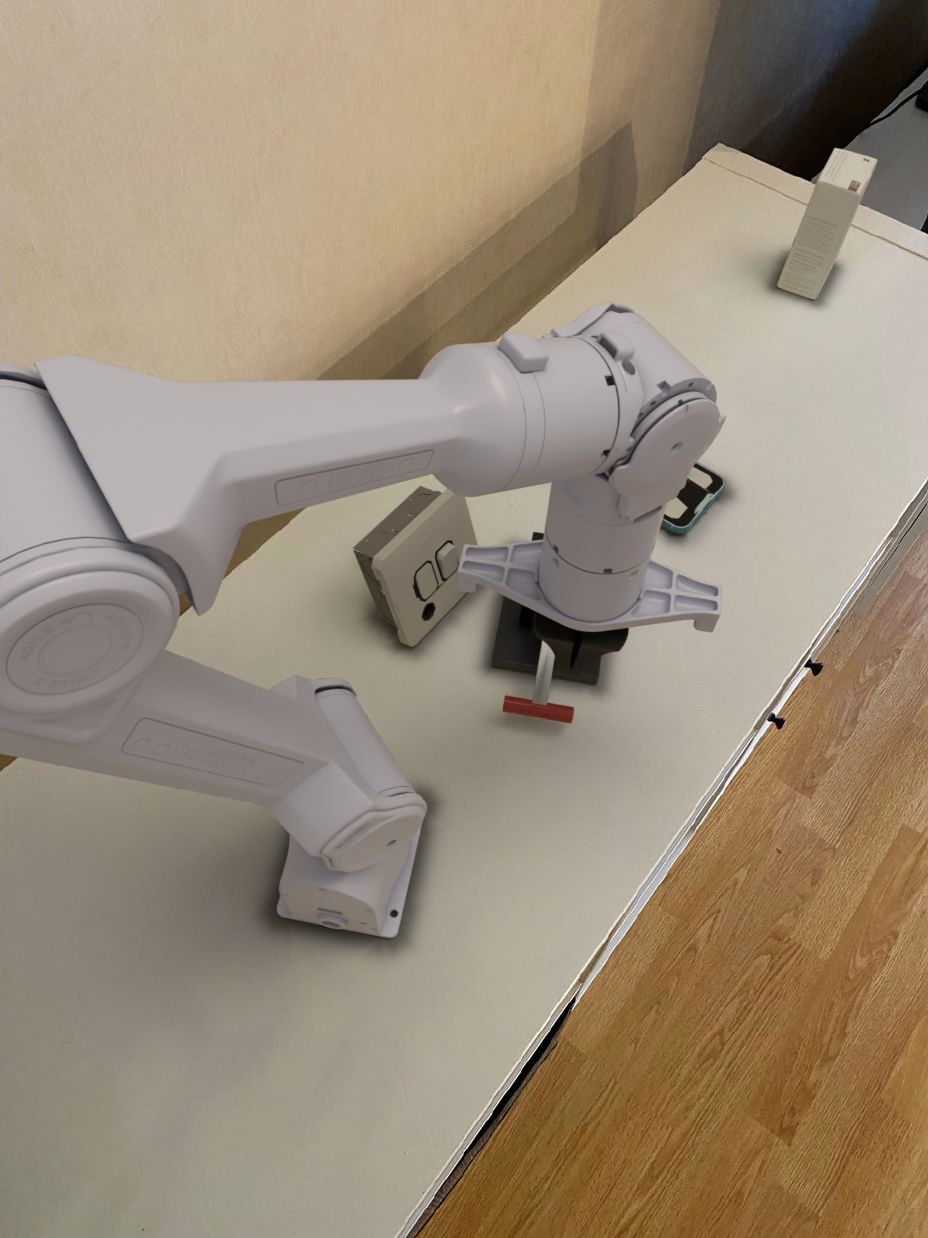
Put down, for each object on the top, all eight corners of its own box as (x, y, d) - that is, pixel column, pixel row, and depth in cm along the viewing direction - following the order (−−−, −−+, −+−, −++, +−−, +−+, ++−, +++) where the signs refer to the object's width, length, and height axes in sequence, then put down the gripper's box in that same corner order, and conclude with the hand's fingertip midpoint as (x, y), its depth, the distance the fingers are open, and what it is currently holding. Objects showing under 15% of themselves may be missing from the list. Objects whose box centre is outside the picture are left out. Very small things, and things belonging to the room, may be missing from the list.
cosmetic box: (792, 254, 99) (832, 142, 89) (835, 268, 98) (880, 156, 88) (774, 289, 96) (813, 177, 86) (817, 303, 95) (862, 192, 85)
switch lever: (570, 725, 70) (572, 722, 67) (502, 713, 70) (502, 709, 68) (596, 566, 72) (598, 558, 69) (529, 555, 72) (530, 546, 70)
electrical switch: (410, 653, 73) (396, 577, 66) (360, 620, 75) (341, 543, 68) (486, 575, 77) (481, 495, 70) (437, 546, 79) (427, 465, 72)
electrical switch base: (596, 685, 72) (610, 634, 66) (490, 667, 73) (495, 614, 66) (611, 567, 78) (626, 510, 72) (514, 551, 78) (519, 493, 72)
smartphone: (585, 399, 87) (730, 479, 81) (584, 407, 87) (728, 487, 82) (535, 446, 83) (683, 533, 78) (535, 454, 84) (681, 540, 79)
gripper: (745, 491, 51) (690, 627, 62) (475, 450, 52) (470, 591, 64) (741, 600, 47) (683, 724, 59) (450, 553, 49) (449, 683, 60)
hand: (571, 661), depth 61 cm, fingers closed
